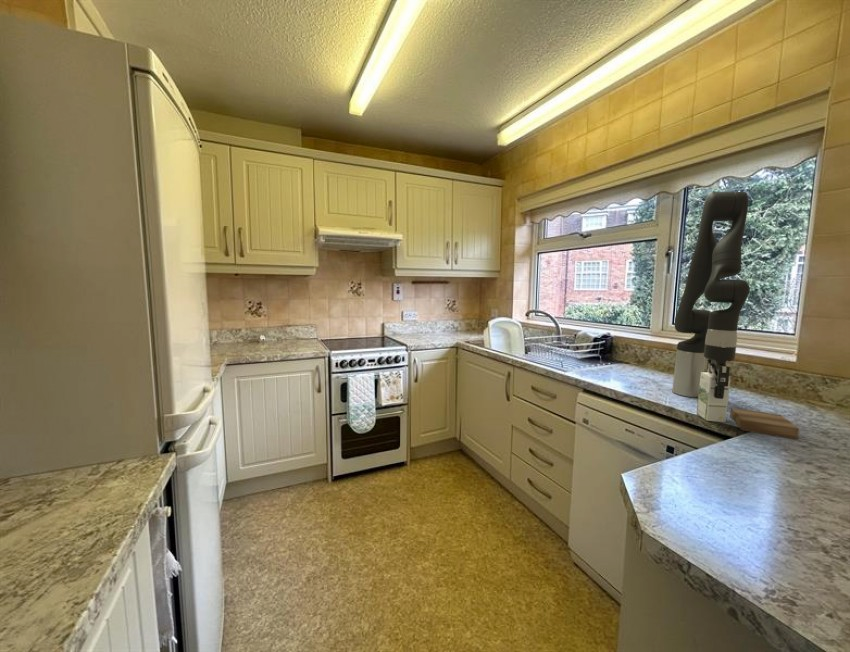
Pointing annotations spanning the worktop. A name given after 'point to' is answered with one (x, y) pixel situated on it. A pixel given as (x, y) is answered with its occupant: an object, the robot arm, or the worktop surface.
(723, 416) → the syrup box
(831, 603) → the worktop surface
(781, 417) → the walnut plinth
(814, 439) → the worktop surface
